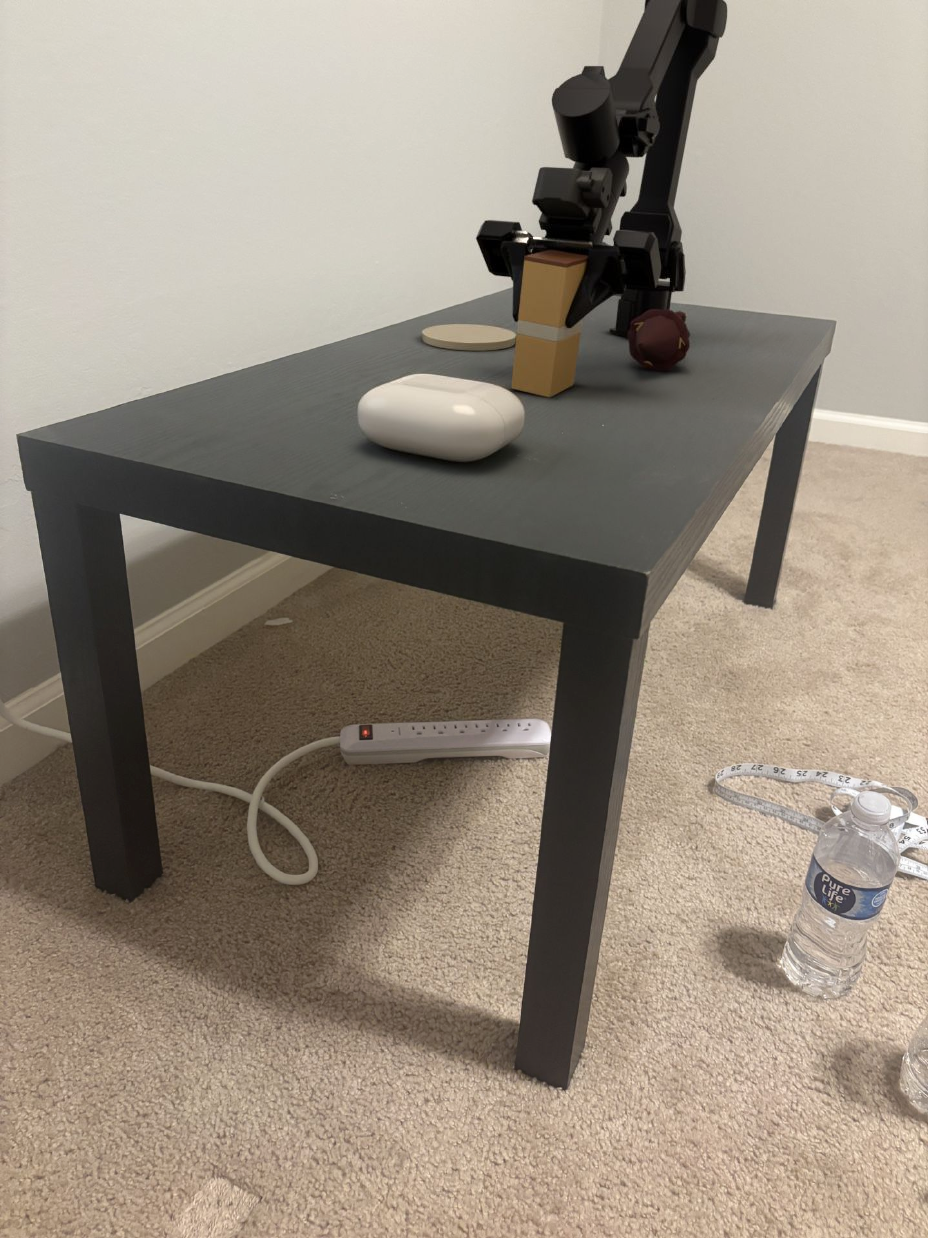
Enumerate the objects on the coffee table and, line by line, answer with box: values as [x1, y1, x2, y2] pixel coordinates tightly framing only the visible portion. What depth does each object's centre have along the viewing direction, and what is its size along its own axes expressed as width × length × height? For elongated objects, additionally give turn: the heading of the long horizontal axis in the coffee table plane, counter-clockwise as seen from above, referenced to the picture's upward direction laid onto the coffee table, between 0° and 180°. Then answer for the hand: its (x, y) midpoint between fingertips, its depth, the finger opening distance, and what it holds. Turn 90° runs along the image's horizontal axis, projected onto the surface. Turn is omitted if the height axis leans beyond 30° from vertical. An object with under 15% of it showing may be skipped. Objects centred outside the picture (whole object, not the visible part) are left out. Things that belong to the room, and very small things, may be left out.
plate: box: [421, 323, 517, 352], centre depth 116 cm, size 12×12×1 cm
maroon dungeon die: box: [627, 309, 691, 372], centre depth 104 cm, size 7×7×15 cm
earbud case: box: [356, 373, 526, 463], centre depth 75 cm, size 10×13×5 cm
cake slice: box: [510, 250, 588, 399], centre depth 92 cm, size 6×4×13 cm
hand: (540, 322), depth 91 cm, fingers closed on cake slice, 5 cm apart
